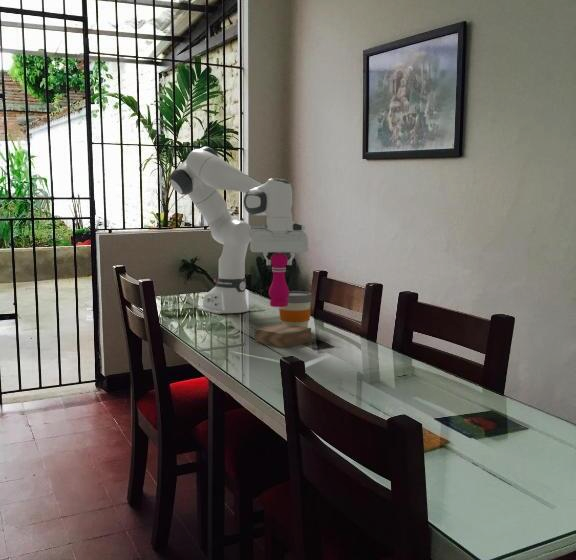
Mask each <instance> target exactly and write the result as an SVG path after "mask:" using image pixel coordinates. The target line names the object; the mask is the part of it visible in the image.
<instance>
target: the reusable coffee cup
mask: <svg viewBox="0 0 576 560" xmlns="http://www.w3.org/2000/svg"><path fill="white" fill-rule="evenodd" d="M286 300H288V306H285V307H278V312H279V319H280V321H281V323H282V324H288V325H294V326H300V327H307V328H309V327H308V326H309V321H310V318H311V313H312V312H311V311H312V307H311V305H312V302H313V299H312V293H311V292H309V291H301V290H300V291H299V290H291V291H290V290H289V296H288V297H287V299H286Z"/></svg>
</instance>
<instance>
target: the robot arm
mask: <svg viewBox="0 0 576 560" xmlns="http://www.w3.org/2000/svg"><path fill="white" fill-rule="evenodd" d="M169 183H170V185H171V186H172V188H173V189H174V191H176V192H177V193H178V194H179V195H184V196H185V195H186V196H187V195H188V197H189V198H190V200H191V201H192V203H193V204H194V205H195V208H197V210H198V211H199V212H200V214H201V215H202V217H203V218H204V220H205V222H206V223H207V225H208V228H209V230H210V236H211V237H212V239H213V240H214V241H216V242H217V243H219V244H221V245H223V246H222V251H221V255H220V256H219V258H218V277H217V279H214V280H213V283H215V284H214V285H215V286H214V287H213V288H211V290H209V291H208V292H207V293H206V294H204V296H203V301H202V305H200V306H197V310H199V311H203V312H207V313H214V314H241V313H245V312H248V311H249V307H248V303H247V296H246V288H247V287H246V286H247V285H246V284H247V283H246V282H247V281H246V280H247V278H246V277H245V275H246V271H245V269H246V267H245V266H246V265H245V264H246V263H245V262H246V256H247V251H248V246H249V244H250V246H249V249H250V251H251V252H252V253H262V255H263V257H264V259H265V260H266V261H265V262H266V266H272V264H271V259H269V258H268V257H267V256H268V254H269V253H277V252H281V253H290V258H289V259H288V263H287V265H286V266H292V265H293V260H294V258H295V257H296V253H307V252H308V251H309V240H308V235H307V233H306V232H305V231H306V226H305V224H303V223H301V222H297V221H294V220H293V213H292V207H293V190H292V188H293V187H292V185H291V182H290V181H289V180H287V179H285V178H280V177H279V178H278V177H270V178H268V179H267V180H266V182H265V183H263V182H261V181H259V180H257V179H255V178H254V177H252V176H250V175H248V174H247V173H244V172H243V171H241V170H240V169H237V168H236V167H234V166H233V165H231V164H230V163H228V162H227V161H225V160H224V159H223V158H221V157H220V156H219V154H218V153H217V152H216V151H215V150H214V149H213V148H212V147H209V146H203V147H201V148H197V149H196V148H195V149H194V150H191V151H190V153H188V155H187V156H186V159H185V160H184V161H183V162H182V163H180V164H179V166H178V167H177V168H176V169H174V170H173V171H172V172H171V174H170V175H169ZM218 190H220V191H221V190H222V191H231V192H232V191H234V192H240V193H243V194H244V197H243V207H244V209H245V211H246V212H247V213H249V214H250V215H253V216H266V225H253V226H251V225H250V224H249V223H248V222H246V221H244V220H241V219H235V218H233V217H232V216H231V214H230V212H229V209H228V207H227V206H228V203H227V202H226V199H224V198H223V196H222V195H221V193H220V192H219V191H218Z"/></svg>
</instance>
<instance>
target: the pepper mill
mask: <svg viewBox="0 0 576 560" xmlns="http://www.w3.org/2000/svg"><path fill="white" fill-rule="evenodd" d="M270 260H271V266H272V267H271V271H272V273H273V274H272V276H273V278H272V282H271V284H270V286H269V289H268V296H269V297H270V299H271V300H269V306H270V307H275V308H280V307H285V306H288V300H286V299H287V297H288V296H289V291H290V289H289V286H288V284H287V281H286V272H287V267H286V266H288V265H287V263H288V260H289V259H288V256H287V255H286V254H285V253H283V252H275V253H273V254H272V256H271V257H270Z"/></svg>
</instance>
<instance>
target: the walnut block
mask: <svg viewBox="0 0 576 560" xmlns="http://www.w3.org/2000/svg"><path fill="white" fill-rule="evenodd" d="M254 332H255V334H254V336H255V341H256V342H255V343H259V342H260V343H259V344H264V345H270V346H276V347H279V348H284V349H285V348H286V349H287V348H290V347H294V346H299V345H303V344H306V343H309V342H312V327H300V326H294V325H288V324H282V322H281V323H276V324H272V325H268V326H264V327H263V326H262V327H259V328H255V331H254Z"/></svg>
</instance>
